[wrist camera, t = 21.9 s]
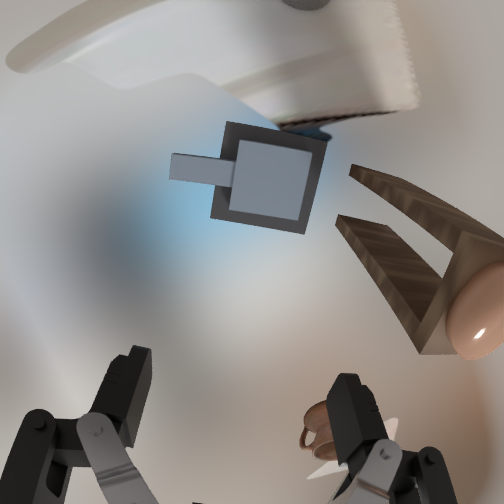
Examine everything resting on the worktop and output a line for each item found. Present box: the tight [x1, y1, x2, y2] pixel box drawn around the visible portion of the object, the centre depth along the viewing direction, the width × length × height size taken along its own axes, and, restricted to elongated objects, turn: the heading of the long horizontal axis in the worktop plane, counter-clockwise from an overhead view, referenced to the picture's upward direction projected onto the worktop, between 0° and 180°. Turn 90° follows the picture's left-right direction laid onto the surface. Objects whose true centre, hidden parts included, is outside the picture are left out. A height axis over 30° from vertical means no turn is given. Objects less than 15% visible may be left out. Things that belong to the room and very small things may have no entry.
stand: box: [335, 164, 504, 355], centre depth 36 cm, size 11×10×32 cm
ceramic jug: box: [300, 400, 337, 461], centre depth 68 cm, size 18×14×14 cm
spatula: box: [169, 139, 312, 221], centre depth 47 cm, size 11×21×2 cm, turn 81°
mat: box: [210, 121, 328, 234], centre depth 48 cm, size 16×16×1 cm
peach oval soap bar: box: [445, 262, 504, 360], centre depth 20 cm, size 9×9×2 cm
